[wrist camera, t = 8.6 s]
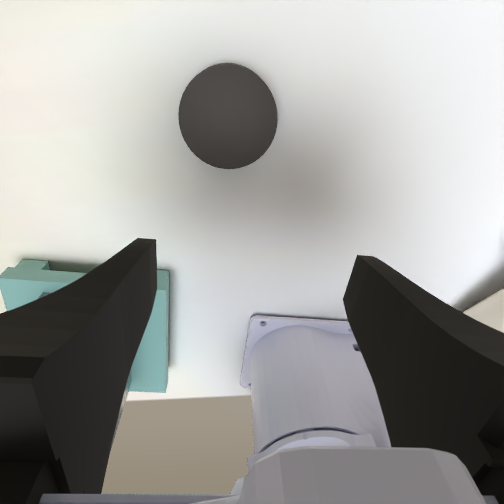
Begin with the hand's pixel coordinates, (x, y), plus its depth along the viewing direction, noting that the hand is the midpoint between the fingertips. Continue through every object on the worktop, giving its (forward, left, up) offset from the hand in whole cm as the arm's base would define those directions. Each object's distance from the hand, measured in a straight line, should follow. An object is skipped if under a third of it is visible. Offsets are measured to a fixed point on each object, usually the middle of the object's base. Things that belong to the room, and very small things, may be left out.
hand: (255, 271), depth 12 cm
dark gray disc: (+1, -4, -10) cm, 11 cm away
